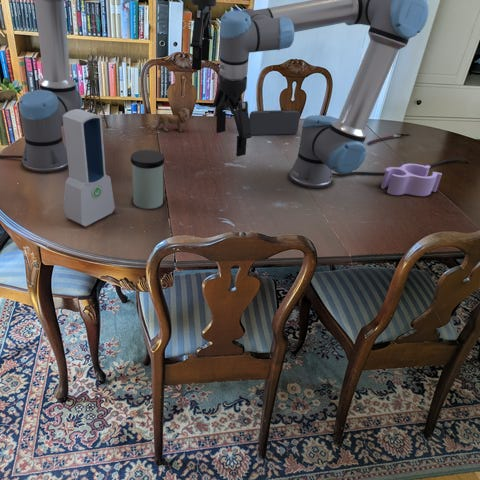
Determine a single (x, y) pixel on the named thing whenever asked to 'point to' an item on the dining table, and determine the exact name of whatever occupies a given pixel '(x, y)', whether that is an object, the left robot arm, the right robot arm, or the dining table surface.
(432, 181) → the clip
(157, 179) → the jar
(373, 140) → the sword
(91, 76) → the miniature windmill
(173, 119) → the lion figurine
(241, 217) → the dining table surface
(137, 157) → the lid
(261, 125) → the handheld gaming console
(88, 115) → the electronic device
